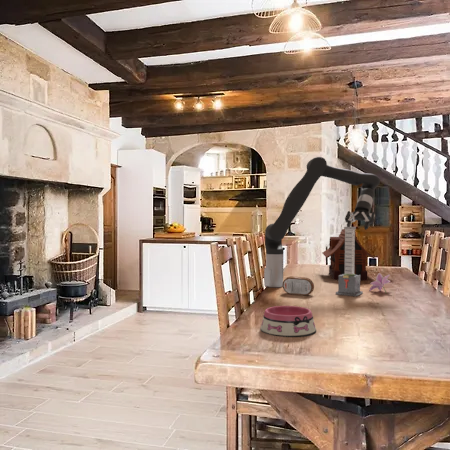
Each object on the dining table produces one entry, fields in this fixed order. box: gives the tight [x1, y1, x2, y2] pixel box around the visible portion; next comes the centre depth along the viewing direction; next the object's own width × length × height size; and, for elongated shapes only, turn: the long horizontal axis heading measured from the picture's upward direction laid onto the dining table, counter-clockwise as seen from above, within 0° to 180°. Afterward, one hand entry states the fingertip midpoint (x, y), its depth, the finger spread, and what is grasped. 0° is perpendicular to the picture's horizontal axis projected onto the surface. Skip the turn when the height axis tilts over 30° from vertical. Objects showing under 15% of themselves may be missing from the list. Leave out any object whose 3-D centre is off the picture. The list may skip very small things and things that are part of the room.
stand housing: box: [335, 274, 364, 297], centre depth 221 cm, size 10×10×9 cm
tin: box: [282, 276, 315, 296], centre depth 219 cm, size 15×3×8 cm, turn 65°
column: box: [343, 226, 357, 276], centre depth 221 cm, size 4×4×25 cm
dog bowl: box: [259, 305, 317, 338], centre depth 153 cm, size 18×19×7 cm
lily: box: [368, 272, 391, 293], centre depth 227 cm, size 12×12×10 cm
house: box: [321, 228, 376, 281], centre depth 281 cm, size 35×28×29 cm
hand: (356, 228), depth 231 cm, fingers open, 8 cm apart
